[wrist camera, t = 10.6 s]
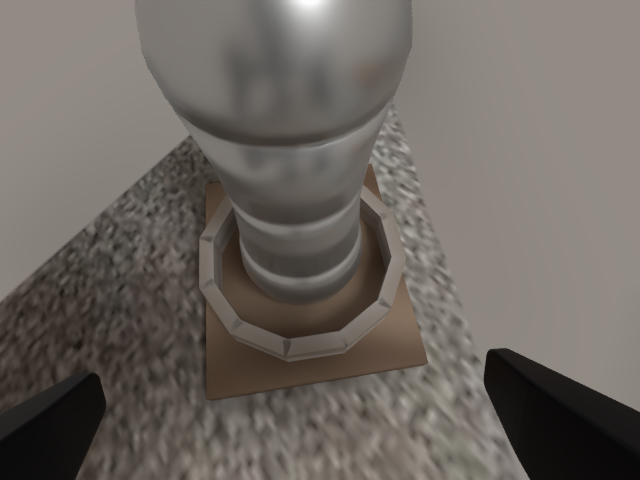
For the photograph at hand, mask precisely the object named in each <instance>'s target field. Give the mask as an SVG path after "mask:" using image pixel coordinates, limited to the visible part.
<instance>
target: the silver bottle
mask: <svg viewBox="0 0 640 480" xmlns="http://www.w3.org/2000/svg"><path fill="white" fill-rule="evenodd" d="M135 13H136V19H137V25H138V32H139V38H140V44H141V50H142V53H143V56H144V59H145V61H146V64H147V67H148V69H149V70H150V72H151V74H152V75H153V77H154V79H155V80H156V82H157V84H158V86H159V87H160V89H161V91H162V93H163V95H164V97H165V98H166V99H167V100H168V102H169V103H170V105H171V106H172V108H173V109H174V111H175V112H176V114H177V115H178V117H179V118H180V120H181V121H182V122H183V124H184V126H185V127H186V128H187V130H188V131H189V133H190V134H191V136H192V137H193V139H194V140H195V142H196V143H197V145H198V146H199V147H200V149H201V150H202V152H203V153H204V155H205V156H206V158H207V159H208V161H209V162H210V164H211V165H212V166H213V168H214V170H215V172H216V174H217V176H218V178H219V180H220V182H221V184H222V186H223V188H224V190H225V192H226V193H227V195H228V197H229V200H230V202H231V204H232V206H233V208H234V212H235V216H236V220H237V224H238V228H239V232H240V241H239V242H240V249H241V255H242V261H243V265H244V267H245V270H246V272H247V274H248V275H249V277H250V278H251V280H252V281H253V282H254V283H255V284H256V285H257V286H258V287H259V288H260V289H261V290H262V291H264V292H265V293H266V294H267V295H269V296H270V297H272V298H274V299H276V300H277V301H280V302H283V303H286V304H291V305H298V306H299V305H312V304H317V303H321V302H323V301H325V300H328V299H330V298H332V297H333V296H335V295H336V294H337V293H339V292H340V291H341V290H342V289H343V288H344V287H345V286H346V285H347V284H348V282H349V281H350V280H351V278H352V277H353V275H354V274H355V272H356V271H357V269H358V266H359V264H360V261H361V256H362V233H361V226H360V222H359V214H360V194H361V190H362V187H363V181H364V179H365V175H366V172H367V168H368V164H369V160H370V156H371V153H372V150H373V147H374V145H375V142H376V140H377V137H378V135H379V132H380V130H381V128H382V125H383V123H384V120H385V118H386V115H387V113H388V110H389V108H390V105H391V103H392V101H393V98H394V96H395V93H396V91H397V89H398V86H399V84H400V81H401V79H402V76H403V73H404V69H405V66H406V63H407V60H408V57H409V54H410V51H411V48H412V39H413V17H412V0H135Z"/></svg>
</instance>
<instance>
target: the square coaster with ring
mask: <svg viewBox="0 0 640 480" xmlns="http://www.w3.org/2000/svg"><path fill="white" fill-rule="evenodd" d="M359 222H360V226H361V233H362V256H361V261H360V264H359V266H358V269H357V271H356V272H355V274H354V275H353V277H352V278H351V280H350V281H349V282H348V284H347V285H346V286H345V287H344V288H343V289H342V290H341V291H340V292H339V293H337V294H336V295H335V296H333V297H332V298H330V299H328V300H325V301H323V302H321V303H317V304H312V305H299V306H298V305H291V304H286V303H283V302H280V301H277V300H276V299H274V298H272V297H270V296H269V295H267V294H266V293H265V292H264V291H262V290H261V289H260V288H259V287H258V286H257V285H256V284H255V283H254V282H253V281H252V280H251V278H250V277H249V275H248V274H247V272H246V270H245V267H244V265H243V261H242V255H241V249H240V242H239V241H240V232H239V228H238V224H237V220H236V216H235V212H234V208H233V206H232V204H231V202H230V200H229V197H228V195H227V193H226V192H225V190H224V188H223V186H222V184H221V182H218V183H210V184H206V228H205V230H204V231H203V233H202V234H201V236H200V237H199V289H200V290H201V292H202V293H203V294H204V296H205V297H206V400H212V401H213V400H219V399H225V398H231V397H237V396H243V395H249V394H255V393H261V392H267V391H273V390H279V389H285V388H291V387H297V386H303V385H309V384H315V383H321V382H327V381H333V380H339V379H345V378H351V377H357V376H363V375H369V374H375V373H381V372H387V371H393V370H399V369H405V368H411V367H417V366H423V365H424V364H426V363H428V360H427V357H426V353H425V350H424V346H423V343H422V339H421V336H420V332H419V329H418V325H417V322H416V318H415V315H414V311H413V308H412V304H411V301H410V297H409V294H408V290H407V286H406V283H405V279H404V276H403V272H402V271H403V268H404V265H405V261H406V256H405V252H404V249H403V245H402V242H401V239H400V235H399V232H398V229H397V225H396V222H395V218H394V215H393V212H392V211H391V210H390V209H389V208H388V207H387V206H385V205H384V204H383V202H382V199H381V195H380V192H379V188H378V185H377V181H376V178H375V174H374V171H373V167H372V164H368V168H367V172H366V175H365V179H364V181H363V187H362V190H361V194H360V214H359Z"/></svg>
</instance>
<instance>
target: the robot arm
mask: <svg viewBox="0 0 640 480" xmlns="http://www.w3.org/2000/svg"><path fill="white" fill-rule="evenodd" d="M484 385H485V389H486V391H487V393H488V395H489V398H490V400H491V402H492V404H493V406H494V409H495V411H496V413H497V415H498V417H499V419H500V422H501V424H502V426H503V428H504V430H505V433H506V435H507V437H508V439H509V441H510V443H511V445H512V447H513V450H514V451H515V453H516V455H517V457H518V459H519V461H520V463H521V465H522V466H523V468H524V470H525V472H526V473H527V475H528V477H529V478H530V480H640V412H638V411H637V410H635V409H633V408H630V407H628V406H626V405H624V404H622V403H620V402H618V401H616V400H614V399H612V398H610V397H608V396H605V395H603V394H601V393H599V392H597V391H595V390H593V389H591V388H589V387H587V386H585V385H583V384H580V383H578V382H576V381H574V380H572V379H570V378H568V377H566V376H564V375H562V374H559V373H558V372H555V371H553V370H551V369H549V368H547V367H545V366H543V365H541V364H539V363H537V362H535V361H533V360H530V359H528V358H526V357H524V356H522V355H520V354H518V353H516V352H514V351H512V350H510V349H507V348H499V349H490V350H489V351H488V352H487V355H486V364H485V371H484ZM105 410H106V399H105V396H104V392H103V389H102V385H101V381H100V378H99V376H98V375H97V374H96V373H78V374H75V375H73V376H71V377H69V378H67V379H65V380H63V381H61V382H60V383H58V384H56V385H54V386H52V387H50V388H48V389H47V390H45V391H43V392H41V393H39V394H37V395H36V396H34V397H32V398H30V399H28V400H26V401H24V402H23V403H21V404H19V405H17V406H15V407H13V408H11V409H10V410H8V411H6V412H4V413H2V414H0V480H75V479H76V476H77V474H78V472H79V470H80V468H81V466H82V463H83V461H84V459H85V456H86V454H87V452H88V450H89V447H90V445H91V443H92V441H93V438H94V436H95V434H96V432H97V429H98V427H99V425H100V423H101V420H102V418H103V416H104V413H105Z"/></svg>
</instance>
